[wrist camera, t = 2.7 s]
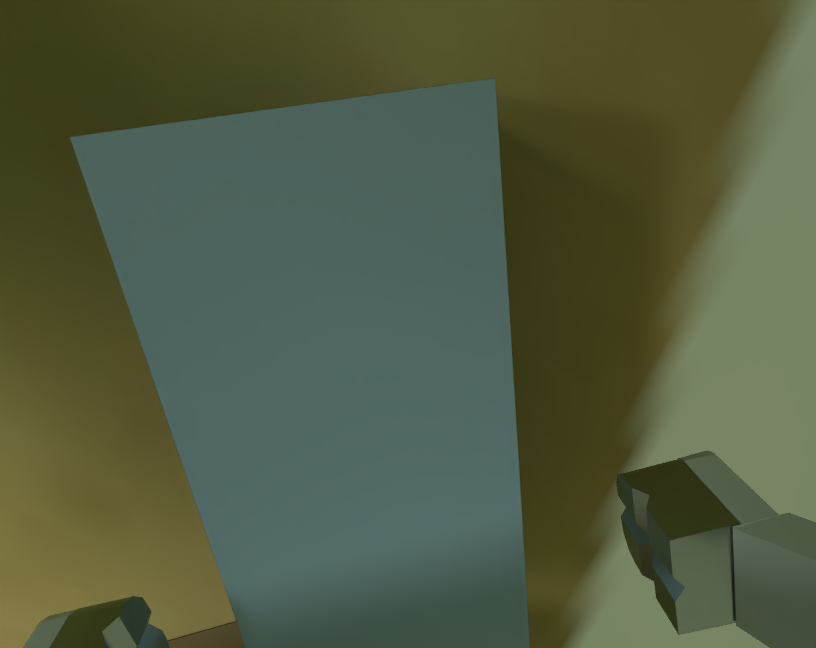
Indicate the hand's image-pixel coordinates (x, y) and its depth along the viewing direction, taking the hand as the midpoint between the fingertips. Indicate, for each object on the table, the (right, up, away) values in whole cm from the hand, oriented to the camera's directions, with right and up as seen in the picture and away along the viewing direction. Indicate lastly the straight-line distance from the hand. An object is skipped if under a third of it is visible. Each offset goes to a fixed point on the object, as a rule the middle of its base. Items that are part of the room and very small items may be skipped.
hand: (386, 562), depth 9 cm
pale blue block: (-1, +3, +5) cm, 6 cm away
